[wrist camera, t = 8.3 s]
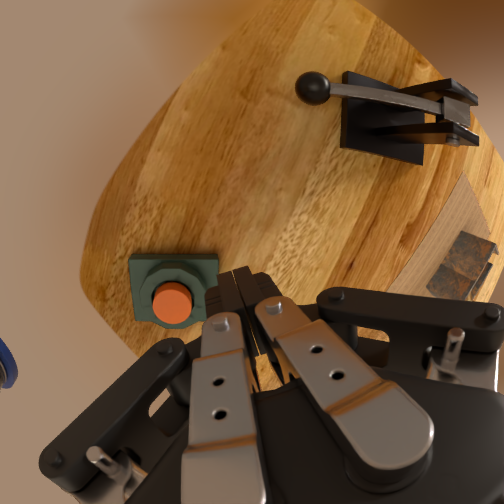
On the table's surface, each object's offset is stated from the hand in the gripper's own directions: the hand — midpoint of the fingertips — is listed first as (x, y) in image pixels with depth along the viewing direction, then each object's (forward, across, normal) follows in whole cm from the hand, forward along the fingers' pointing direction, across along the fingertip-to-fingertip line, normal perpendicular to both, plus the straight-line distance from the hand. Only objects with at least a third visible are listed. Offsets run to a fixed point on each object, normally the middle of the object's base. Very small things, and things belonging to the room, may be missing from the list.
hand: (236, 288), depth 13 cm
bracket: (+16, -22, -7) cm, 28 cm away
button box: (+16, +6, +5) cm, 18 cm away
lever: (+9, -17, -8) cm, 21 cm away
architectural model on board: (+16, -33, +15) cm, 40 cm away
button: (+13, +6, +5) cm, 15 cm away
